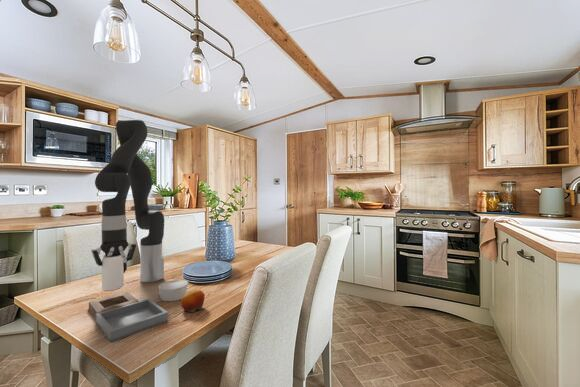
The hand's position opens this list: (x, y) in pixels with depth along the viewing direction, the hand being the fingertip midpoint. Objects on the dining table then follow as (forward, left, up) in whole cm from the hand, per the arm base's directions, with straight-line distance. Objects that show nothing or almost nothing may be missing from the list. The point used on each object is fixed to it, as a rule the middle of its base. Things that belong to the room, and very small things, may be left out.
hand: (115, 274), depth 94 cm
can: (+1, 0, -5) cm, 5 cm away
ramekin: (-19, +6, -13) cm, 23 cm away
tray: (-1, +16, -12) cm, 20 cm away
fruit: (-19, +22, -13) cm, 31 cm away
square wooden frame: (0, 0, -12) cm, 12 cm away
